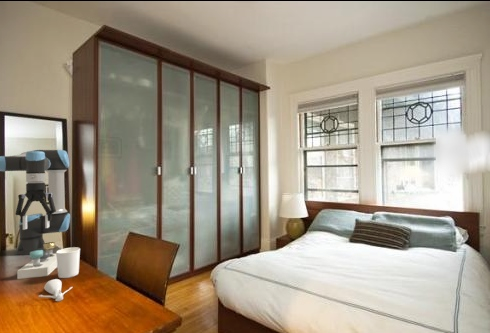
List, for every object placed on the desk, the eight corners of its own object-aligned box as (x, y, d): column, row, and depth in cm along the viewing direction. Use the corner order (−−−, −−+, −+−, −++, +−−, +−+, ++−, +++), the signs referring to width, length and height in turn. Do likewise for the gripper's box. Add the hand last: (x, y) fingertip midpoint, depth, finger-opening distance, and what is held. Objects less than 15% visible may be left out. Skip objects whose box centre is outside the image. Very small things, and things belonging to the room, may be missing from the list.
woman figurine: (67, 273, 122) (77, 288, 109) (67, 283, 122) (77, 299, 109) (35, 281, 114) (41, 298, 101) (35, 291, 114) (41, 310, 101)
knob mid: (39, 264, 143) (39, 251, 144) (51, 263, 145) (51, 250, 145) (35, 268, 138) (35, 254, 139) (47, 266, 140) (47, 253, 140)
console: (40, 262, 152) (40, 255, 152) (65, 259, 155) (64, 252, 155) (17, 279, 128) (17, 270, 128) (47, 275, 131) (47, 267, 132)
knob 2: (46, 255, 151) (45, 242, 151) (56, 253, 153) (56, 241, 153) (42, 257, 146) (41, 245, 146) (53, 256, 148) (53, 244, 148)
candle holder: (85, 271, 136) (84, 247, 136) (70, 279, 127) (70, 253, 127) (66, 271, 137) (66, 247, 137) (51, 278, 128) (50, 253, 128)
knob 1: (32, 264, 136) (32, 250, 136) (44, 263, 137) (44, 249, 137) (27, 267, 131) (27, 253, 131) (40, 266, 132) (40, 252, 132)
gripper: (5, 183, 128) (5, 231, 128) (58, 182, 134) (58, 228, 134) (13, 182, 135) (14, 228, 135) (63, 181, 141) (63, 225, 141)
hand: (36, 228), depth 134 cm, fingers open, 9 cm apart
